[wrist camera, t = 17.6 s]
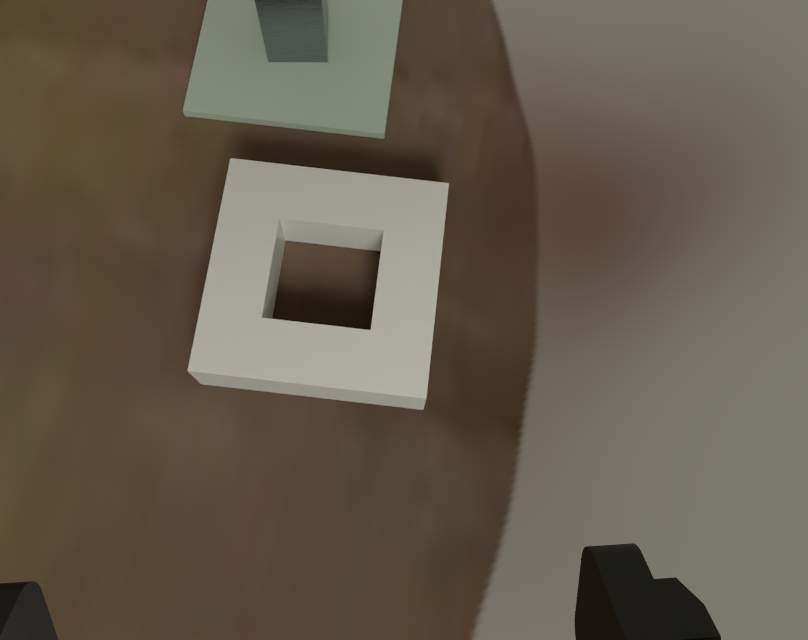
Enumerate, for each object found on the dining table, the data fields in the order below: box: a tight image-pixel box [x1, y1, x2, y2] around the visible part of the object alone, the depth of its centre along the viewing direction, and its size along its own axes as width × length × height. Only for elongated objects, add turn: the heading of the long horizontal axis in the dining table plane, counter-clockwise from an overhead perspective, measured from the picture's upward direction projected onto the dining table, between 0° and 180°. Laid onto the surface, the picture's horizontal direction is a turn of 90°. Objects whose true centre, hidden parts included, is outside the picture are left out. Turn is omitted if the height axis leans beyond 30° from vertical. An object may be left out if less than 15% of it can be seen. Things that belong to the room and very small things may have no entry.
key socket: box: [188, 158, 449, 410], centre depth 42 cm, size 12×12×3 cm
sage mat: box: [183, 0, 403, 139], centre depth 48 cm, size 12×12×1 cm
